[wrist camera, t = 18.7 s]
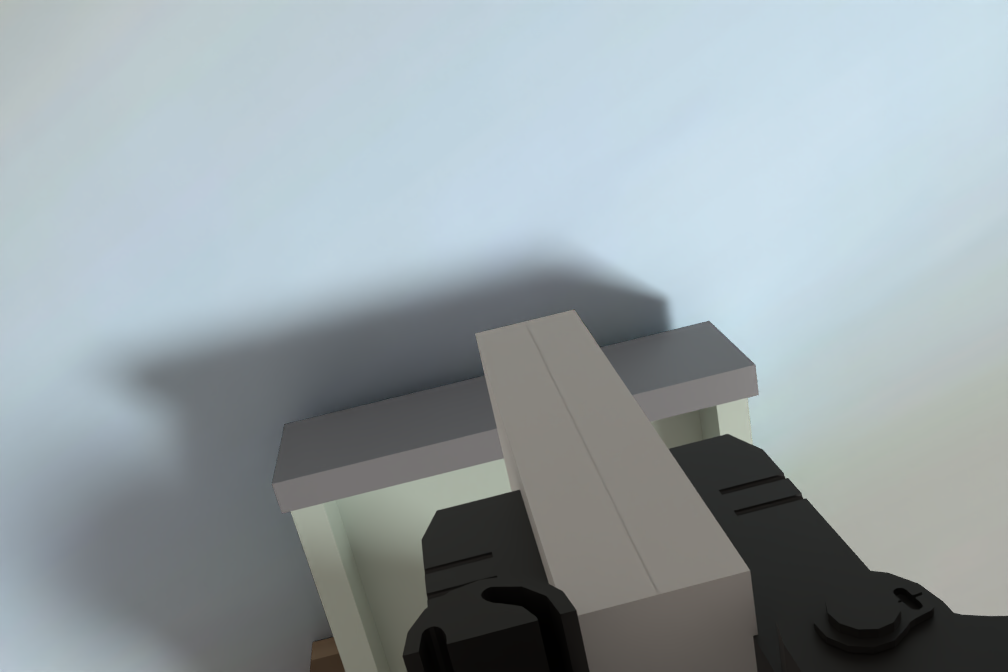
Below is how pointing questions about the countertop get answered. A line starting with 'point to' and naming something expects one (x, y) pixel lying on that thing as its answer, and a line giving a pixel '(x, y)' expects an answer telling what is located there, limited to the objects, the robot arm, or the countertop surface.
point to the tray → (458, 475)
